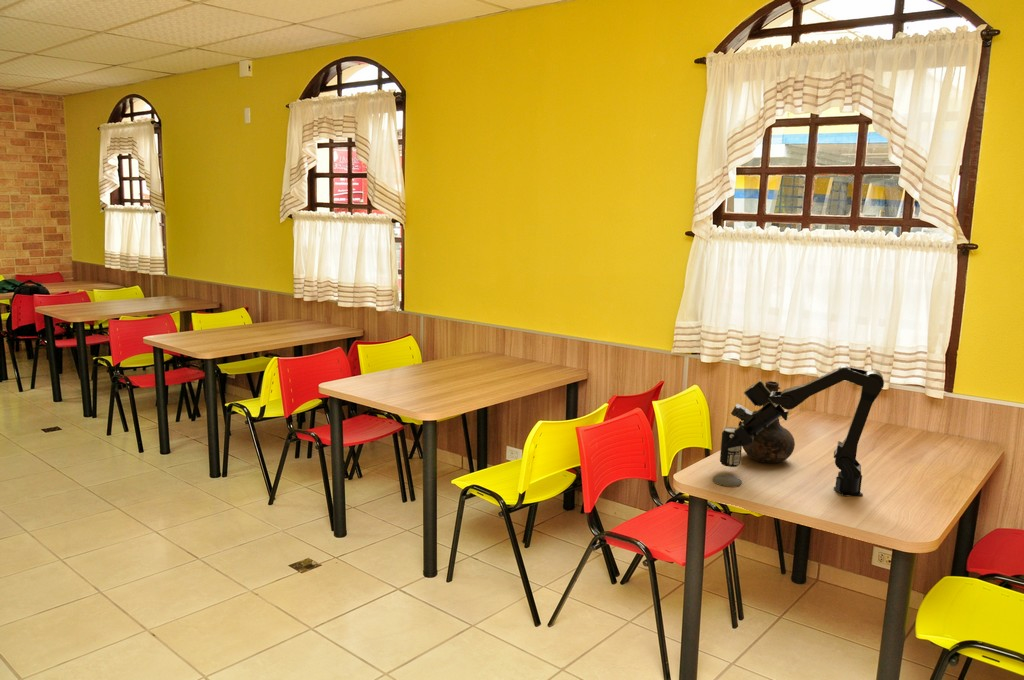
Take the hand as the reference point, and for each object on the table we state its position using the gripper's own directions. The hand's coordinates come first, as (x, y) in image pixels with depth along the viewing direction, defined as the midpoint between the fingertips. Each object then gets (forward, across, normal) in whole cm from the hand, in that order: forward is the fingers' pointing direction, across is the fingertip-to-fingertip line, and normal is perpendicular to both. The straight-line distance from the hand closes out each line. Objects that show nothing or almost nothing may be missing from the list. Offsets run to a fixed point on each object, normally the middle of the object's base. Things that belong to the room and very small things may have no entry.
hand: (727, 444), depth 256 cm
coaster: (+5, +10, +8) cm, 14 cm away
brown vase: (-1, -21, +15) cm, 26 cm away
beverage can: (+4, 0, +6) cm, 7 cm away
